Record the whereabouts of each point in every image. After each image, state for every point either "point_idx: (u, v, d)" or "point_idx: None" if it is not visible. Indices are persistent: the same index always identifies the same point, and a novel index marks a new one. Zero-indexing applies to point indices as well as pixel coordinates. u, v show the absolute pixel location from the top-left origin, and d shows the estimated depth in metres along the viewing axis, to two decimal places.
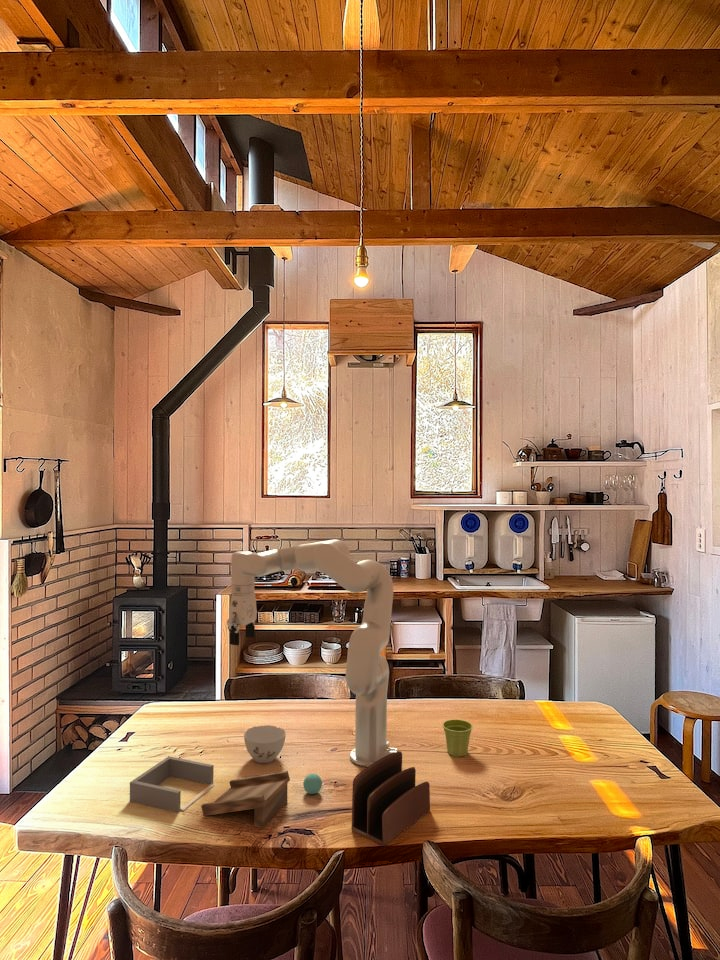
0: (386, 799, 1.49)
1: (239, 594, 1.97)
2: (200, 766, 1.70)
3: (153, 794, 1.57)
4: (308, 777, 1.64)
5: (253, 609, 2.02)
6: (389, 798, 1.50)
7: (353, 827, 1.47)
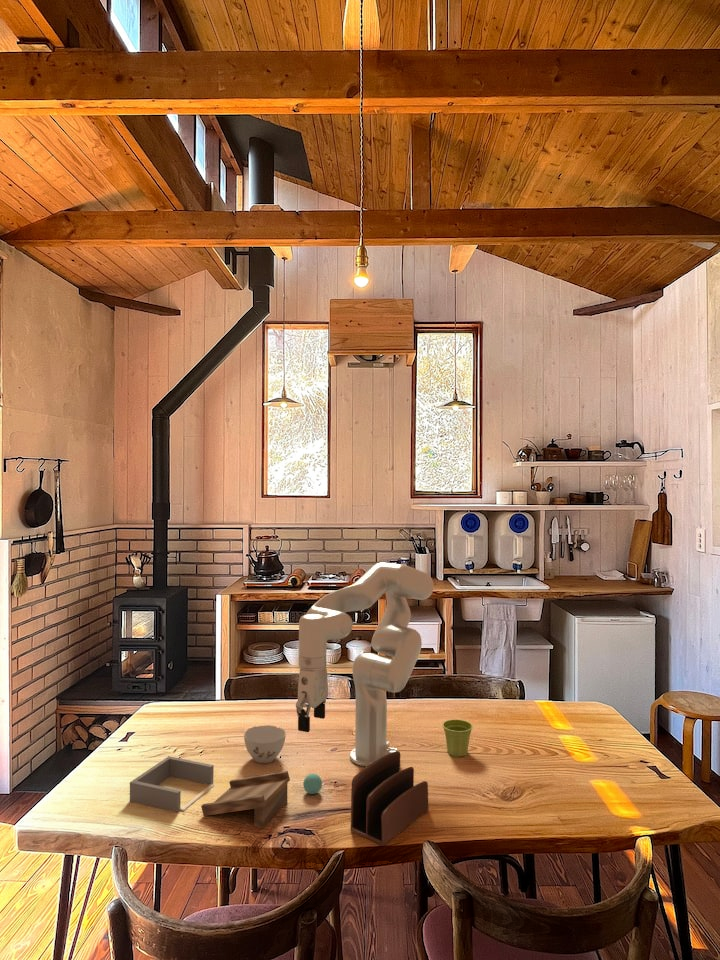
0: (385, 799, 1.49)
1: (309, 669, 1.61)
2: (200, 766, 1.70)
3: (153, 794, 1.57)
4: (308, 777, 1.64)
5: (325, 685, 1.66)
6: (388, 798, 1.50)
7: (352, 827, 1.47)
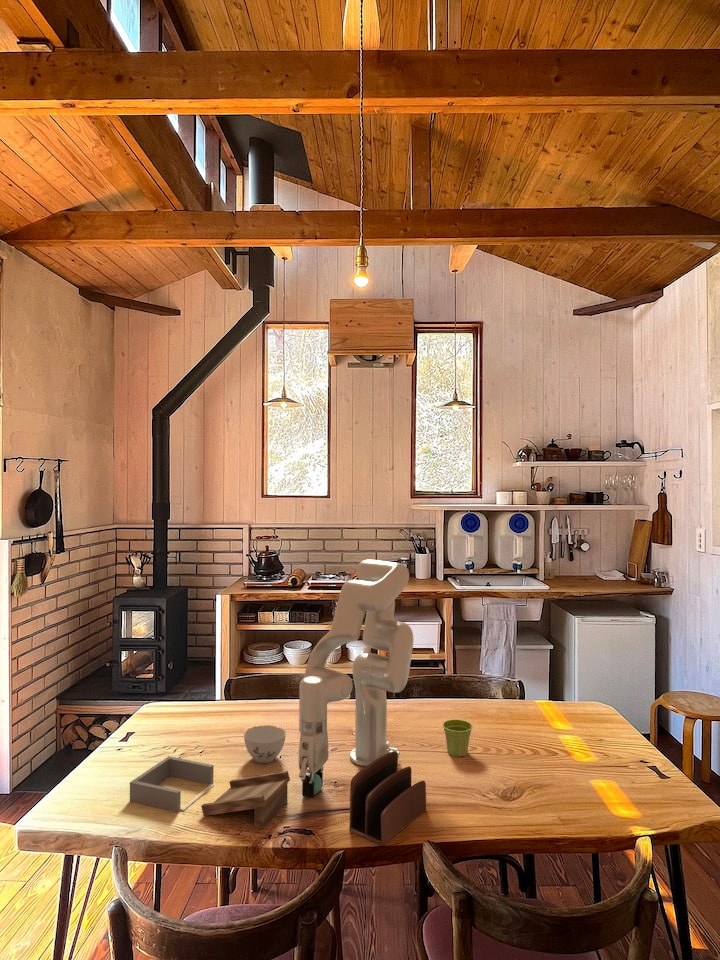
0: (383, 799, 1.49)
1: (310, 733, 1.61)
2: (200, 766, 1.70)
3: (153, 794, 1.57)
4: None
5: (325, 748, 1.66)
6: (386, 798, 1.50)
7: (351, 828, 1.47)
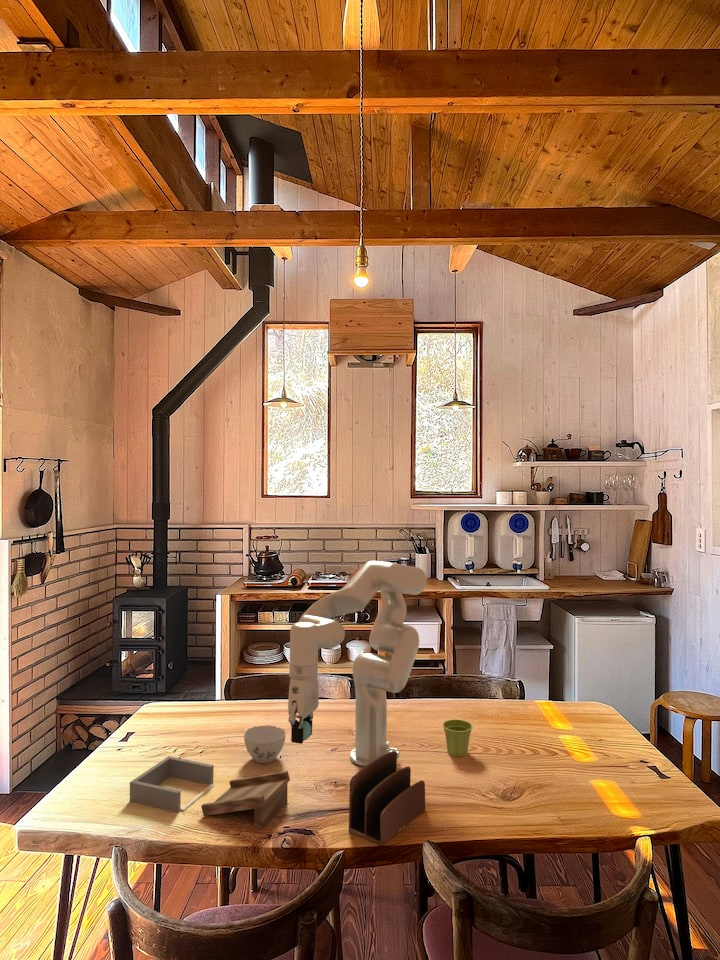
0: (383, 799, 1.49)
1: (300, 678, 1.59)
2: (200, 766, 1.70)
3: (153, 794, 1.57)
4: None
5: (315, 694, 1.63)
6: (386, 798, 1.50)
7: (350, 828, 1.46)
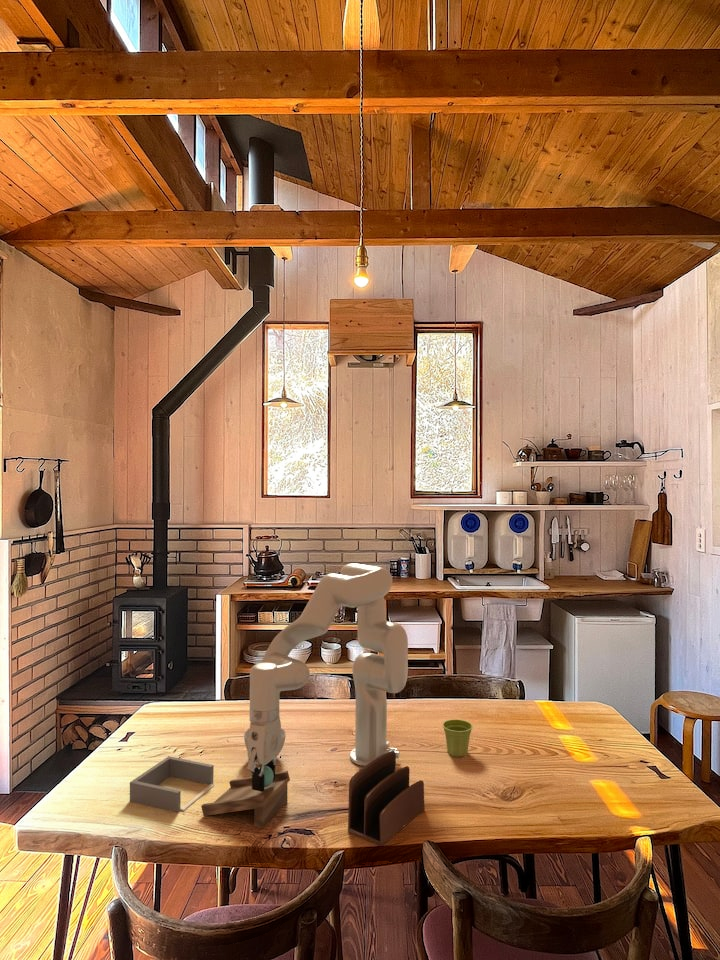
0: (382, 799, 1.49)
1: (260, 723, 1.51)
2: (200, 766, 1.70)
3: (153, 794, 1.57)
4: None
5: (278, 739, 1.56)
6: (385, 798, 1.50)
7: (349, 828, 1.46)
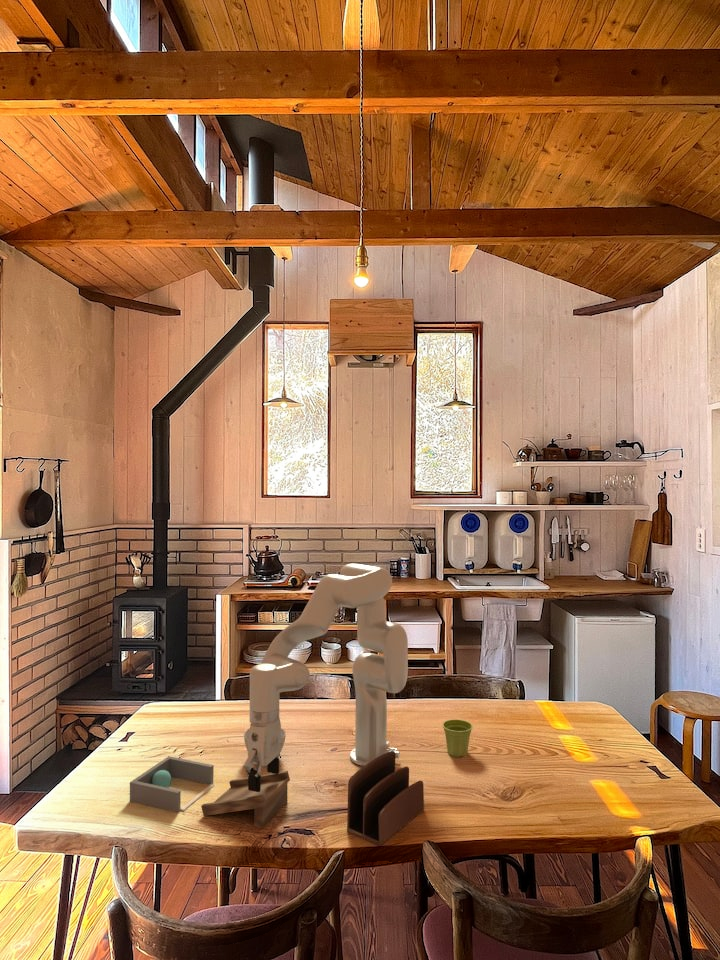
0: (381, 799, 1.49)
1: (260, 724, 1.51)
2: (200, 766, 1.70)
3: (153, 794, 1.57)
4: None
5: (278, 739, 1.56)
6: (384, 798, 1.50)
7: (349, 828, 1.46)
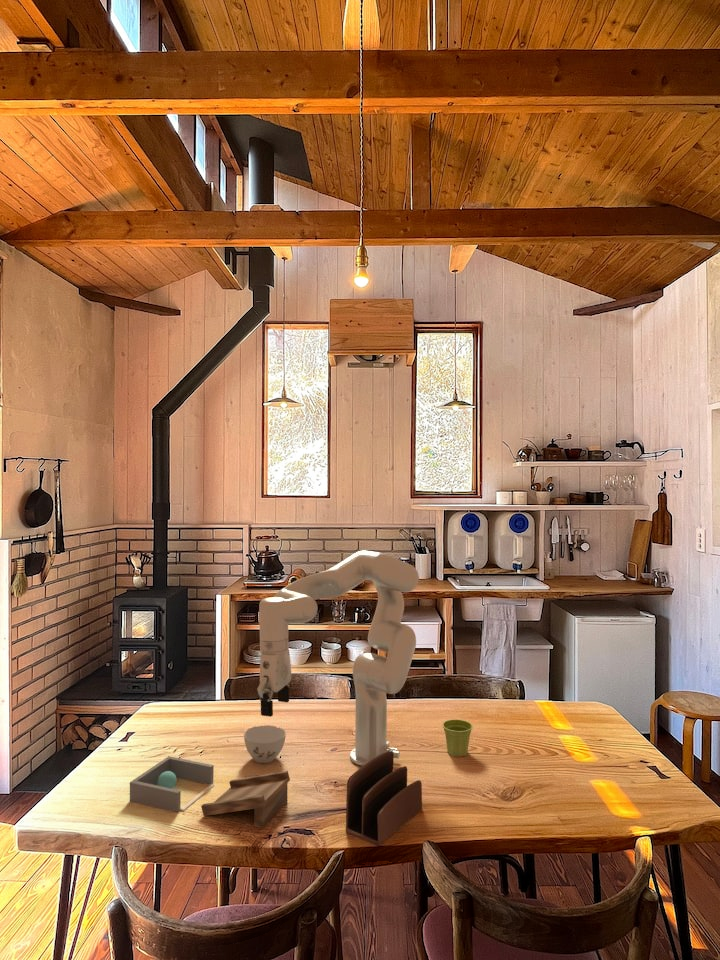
0: (380, 799, 1.49)
1: (271, 653, 1.58)
2: (200, 766, 1.70)
3: (153, 794, 1.57)
4: (158, 779, 1.65)
5: (287, 668, 1.63)
6: (383, 798, 1.50)
7: (347, 828, 1.46)
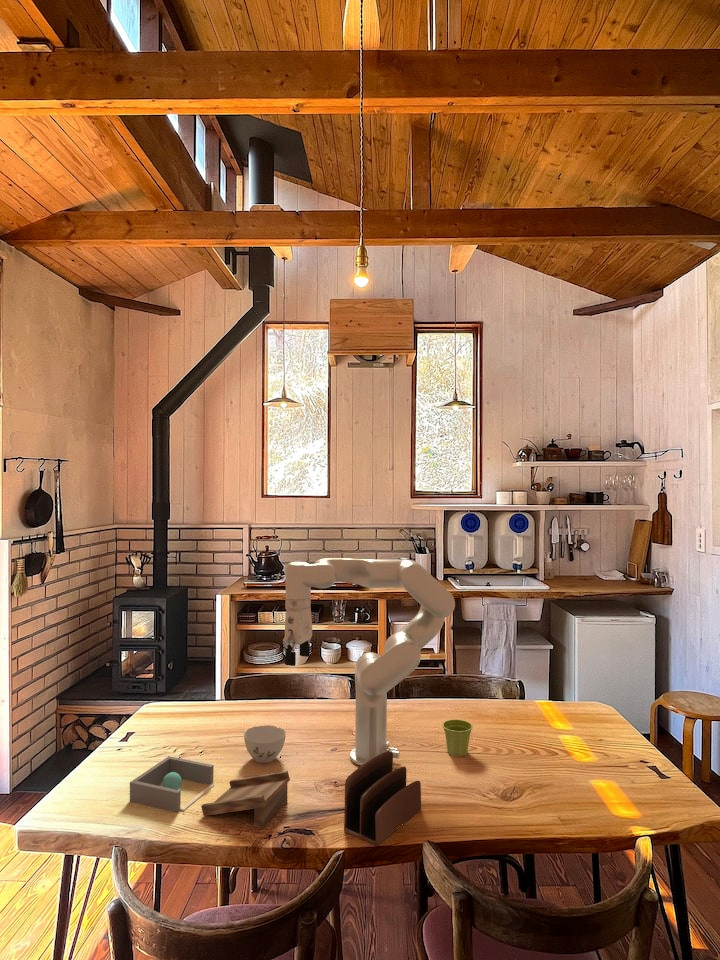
0: (378, 799, 1.49)
1: (295, 609, 1.79)
2: (200, 766, 1.70)
3: (153, 794, 1.57)
4: (165, 776, 1.64)
5: (309, 625, 1.84)
6: (381, 798, 1.50)
7: (345, 828, 1.47)
